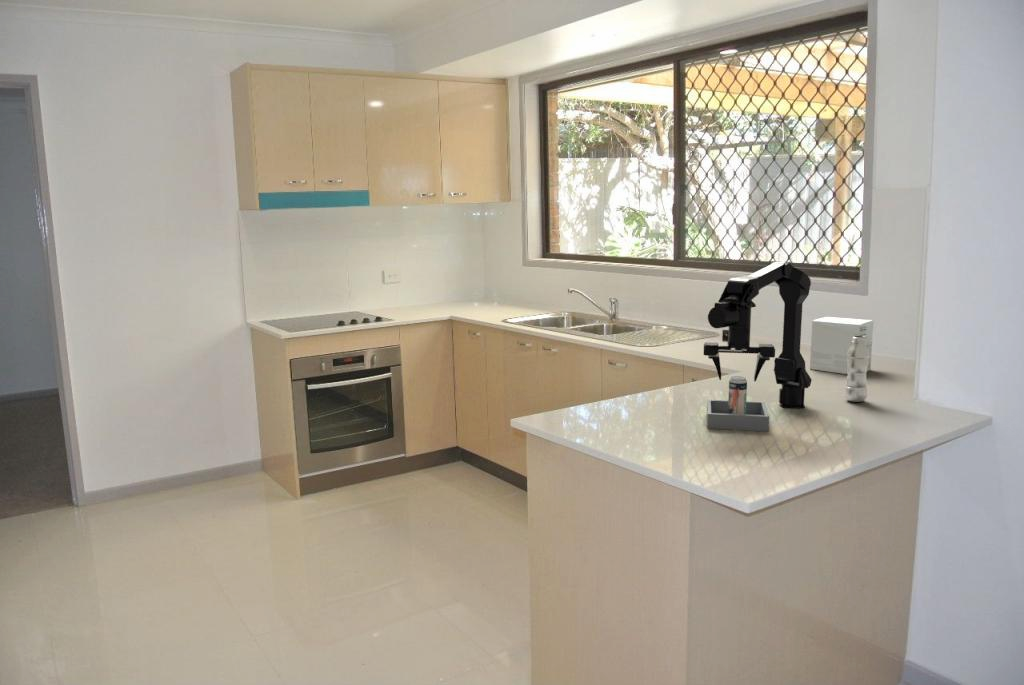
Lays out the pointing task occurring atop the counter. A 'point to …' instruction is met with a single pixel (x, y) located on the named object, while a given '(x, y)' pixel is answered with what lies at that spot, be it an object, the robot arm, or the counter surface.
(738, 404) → the beer can
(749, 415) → the box
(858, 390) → the plastic bottle
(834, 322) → the supplement box
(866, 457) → the counter surface
